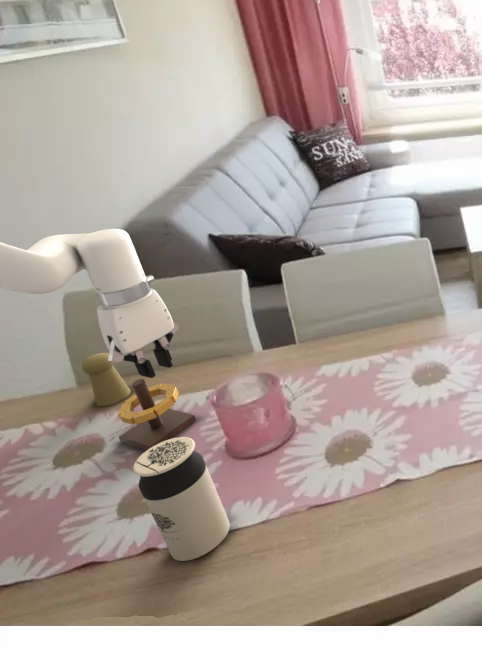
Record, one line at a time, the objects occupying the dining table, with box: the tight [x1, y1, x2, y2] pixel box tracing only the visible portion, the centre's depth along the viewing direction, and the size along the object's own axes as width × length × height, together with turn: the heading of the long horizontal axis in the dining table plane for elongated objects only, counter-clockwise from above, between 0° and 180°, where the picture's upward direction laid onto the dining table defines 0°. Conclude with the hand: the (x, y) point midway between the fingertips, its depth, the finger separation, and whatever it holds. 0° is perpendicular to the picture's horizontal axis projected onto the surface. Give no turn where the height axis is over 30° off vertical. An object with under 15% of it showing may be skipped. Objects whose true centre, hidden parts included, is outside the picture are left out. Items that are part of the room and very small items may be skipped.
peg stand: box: [118, 378, 197, 451], centre depth 109 cm, size 9×9×12 cm
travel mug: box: [132, 436, 231, 562], centre depth 84 cm, size 8×8×18 cm
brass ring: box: [117, 382, 180, 426], centre depth 109 cm, size 9×9×2 cm
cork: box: [81, 352, 132, 407], centre depth 120 cm, size 6×6×11 cm
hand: (157, 370), depth 110 cm, fingers closed
